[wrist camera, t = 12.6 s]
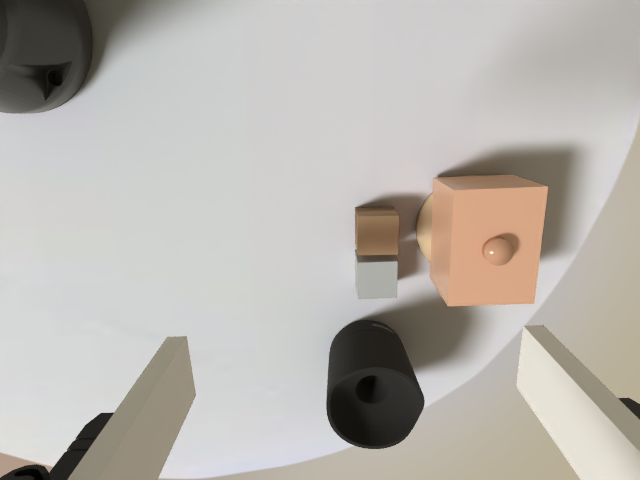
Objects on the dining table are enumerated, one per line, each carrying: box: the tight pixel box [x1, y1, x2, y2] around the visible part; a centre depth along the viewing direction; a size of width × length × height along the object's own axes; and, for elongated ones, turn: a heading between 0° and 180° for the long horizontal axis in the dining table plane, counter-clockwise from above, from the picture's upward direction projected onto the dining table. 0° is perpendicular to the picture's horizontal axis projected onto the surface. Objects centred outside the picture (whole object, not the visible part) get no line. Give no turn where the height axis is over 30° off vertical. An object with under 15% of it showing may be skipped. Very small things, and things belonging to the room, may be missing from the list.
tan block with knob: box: [430, 174, 548, 306], centre depth 40 cm, size 11×8×8 cm
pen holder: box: [327, 321, 424, 449], centre depth 44 cm, size 9×9×10 cm
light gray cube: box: [355, 250, 398, 299], centre depth 44 cm, size 4×4×4 cm
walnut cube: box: [355, 207, 399, 255], centre depth 42 cm, size 4×4×4 cm
